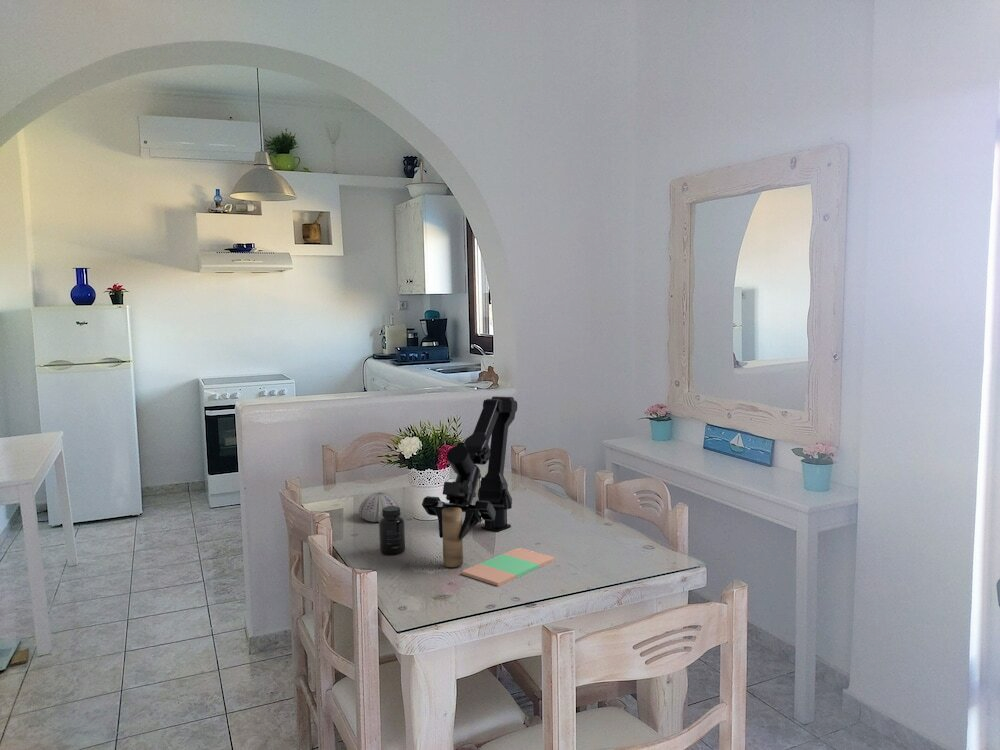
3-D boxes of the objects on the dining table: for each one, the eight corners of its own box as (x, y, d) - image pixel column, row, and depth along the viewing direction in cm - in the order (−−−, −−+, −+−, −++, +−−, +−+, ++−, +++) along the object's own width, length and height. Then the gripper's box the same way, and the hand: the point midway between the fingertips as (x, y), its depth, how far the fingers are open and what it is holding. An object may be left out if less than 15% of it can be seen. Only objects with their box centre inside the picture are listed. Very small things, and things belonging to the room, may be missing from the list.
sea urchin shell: (401, 510, 235) (400, 486, 234) (402, 523, 221) (401, 497, 221) (359, 513, 233) (358, 488, 232) (358, 526, 219) (357, 500, 219)
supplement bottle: (377, 549, 198) (376, 506, 197) (402, 546, 200) (400, 503, 199) (382, 557, 191) (381, 513, 190) (408, 554, 194) (406, 510, 193)
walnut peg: (453, 558, 188) (451, 505, 187) (467, 563, 185) (465, 509, 184) (439, 564, 185) (437, 510, 183) (453, 568, 181) (451, 514, 180)
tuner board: (519, 550, 195) (519, 547, 195) (554, 560, 187) (554, 557, 187) (461, 574, 179) (461, 571, 179) (498, 586, 171) (498, 583, 171)
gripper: (423, 466, 189) (405, 519, 180) (491, 470, 183) (476, 526, 174) (437, 488, 197) (420, 540, 188) (501, 492, 191) (488, 547, 182)
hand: (450, 538), depth 183 cm, fingers closed on walnut peg, 5 cm apart
